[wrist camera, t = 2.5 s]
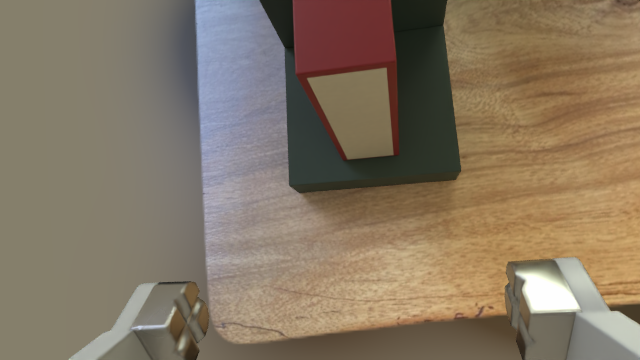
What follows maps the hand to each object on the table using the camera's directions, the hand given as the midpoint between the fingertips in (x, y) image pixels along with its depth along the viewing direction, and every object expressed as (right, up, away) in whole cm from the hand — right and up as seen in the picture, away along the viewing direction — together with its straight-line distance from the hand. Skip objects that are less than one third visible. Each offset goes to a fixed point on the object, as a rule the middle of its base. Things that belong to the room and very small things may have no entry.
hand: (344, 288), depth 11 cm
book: (+3, +8, +20) cm, 22 cm away
